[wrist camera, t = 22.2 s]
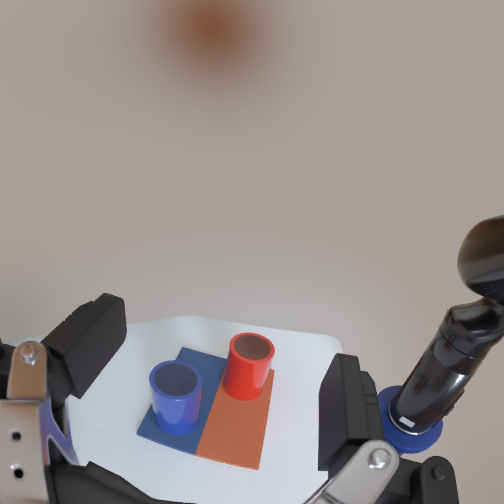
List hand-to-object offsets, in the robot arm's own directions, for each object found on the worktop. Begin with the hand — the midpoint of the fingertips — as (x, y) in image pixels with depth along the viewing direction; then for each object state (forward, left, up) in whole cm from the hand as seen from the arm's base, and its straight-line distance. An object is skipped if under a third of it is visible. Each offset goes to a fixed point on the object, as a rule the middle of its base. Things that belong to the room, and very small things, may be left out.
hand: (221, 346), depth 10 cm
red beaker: (-1, -22, -28) cm, 35 cm away
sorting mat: (+2, -18, -28) cm, 33 cm away
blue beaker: (+6, -13, -28) cm, 31 cm away
